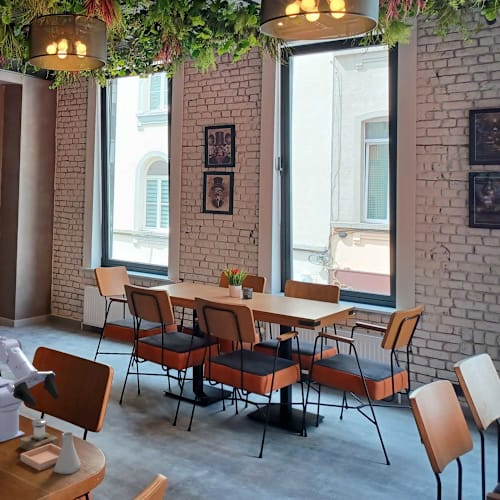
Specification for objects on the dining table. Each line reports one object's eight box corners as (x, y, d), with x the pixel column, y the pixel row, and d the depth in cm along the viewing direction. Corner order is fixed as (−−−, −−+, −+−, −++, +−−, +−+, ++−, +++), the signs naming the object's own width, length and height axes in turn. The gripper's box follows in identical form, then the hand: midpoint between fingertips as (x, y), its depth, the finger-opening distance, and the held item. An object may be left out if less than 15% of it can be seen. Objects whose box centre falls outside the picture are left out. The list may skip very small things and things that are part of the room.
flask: (72, 476, 153) (73, 440, 152) (48, 473, 154) (48, 437, 154) (85, 464, 160) (86, 430, 159) (62, 461, 162) (62, 427, 161)
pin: (29, 446, 171) (29, 421, 170) (41, 442, 174) (41, 417, 174) (37, 450, 168) (37, 425, 168) (49, 446, 172) (49, 421, 171)
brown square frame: (19, 447, 170) (19, 438, 170) (43, 438, 177) (43, 431, 177) (34, 454, 166) (34, 446, 165) (58, 445, 172) (58, 437, 172)
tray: (20, 460, 161) (20, 453, 161) (50, 449, 169) (50, 443, 169) (40, 470, 155) (40, 463, 155) (70, 459, 163) (70, 452, 163)
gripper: (3, 365, 165) (27, 398, 159) (47, 354, 176) (71, 384, 171) (-3, 382, 168) (20, 416, 162) (40, 370, 179) (63, 400, 173)
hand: (46, 401), depth 166 cm, fingers open, 7 cm apart
